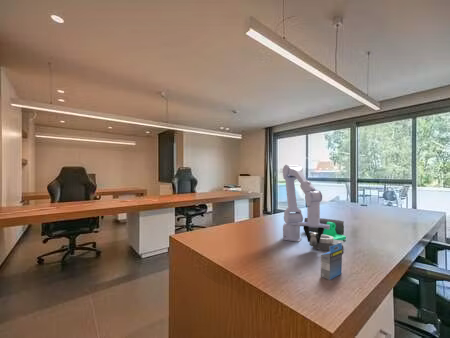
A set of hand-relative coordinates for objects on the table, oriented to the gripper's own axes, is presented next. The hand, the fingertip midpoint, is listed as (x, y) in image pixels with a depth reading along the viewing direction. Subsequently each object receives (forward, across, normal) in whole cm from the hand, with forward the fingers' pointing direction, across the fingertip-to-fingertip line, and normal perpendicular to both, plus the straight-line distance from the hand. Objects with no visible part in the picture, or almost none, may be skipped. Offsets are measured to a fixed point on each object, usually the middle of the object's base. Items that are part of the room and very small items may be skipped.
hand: (313, 242), depth 112 cm
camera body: (+5, +6, +9) cm, 12 cm away
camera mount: (+5, +8, +25) cm, 27 cm away
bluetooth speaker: (+5, +2, +36) cm, 37 cm away
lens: (+2, 0, 0) cm, 2 cm away
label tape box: (+5, +9, -25) cm, 27 cm away
